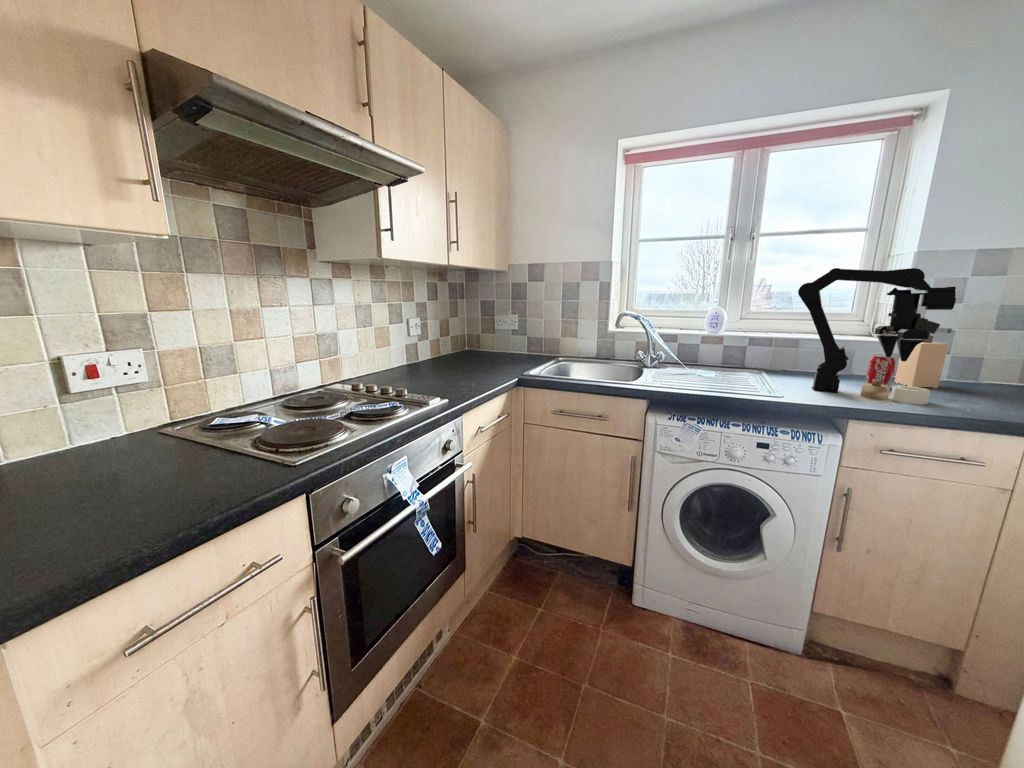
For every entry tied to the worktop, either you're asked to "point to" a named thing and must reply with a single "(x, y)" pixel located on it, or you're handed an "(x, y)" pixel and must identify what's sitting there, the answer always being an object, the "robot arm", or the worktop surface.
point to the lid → (875, 390)
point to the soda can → (880, 369)
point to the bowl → (910, 394)
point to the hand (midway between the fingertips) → (895, 359)
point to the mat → (858, 398)
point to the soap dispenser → (923, 364)
